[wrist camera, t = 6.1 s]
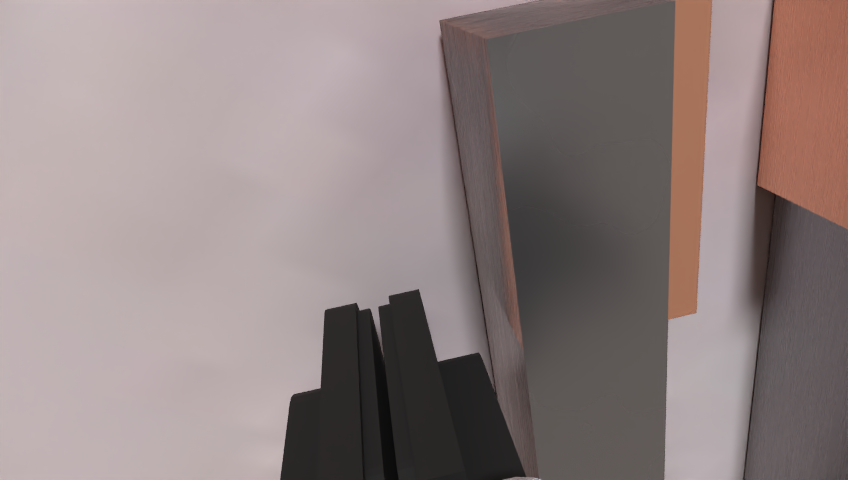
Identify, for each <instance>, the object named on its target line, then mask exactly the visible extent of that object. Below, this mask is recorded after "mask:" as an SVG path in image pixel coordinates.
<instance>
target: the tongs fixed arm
mask: <svg viewBox="0 0 848 480" xmlns="http://www.w3.org/2000/svg"><path fill="white" fill-rule="evenodd" d="M757 185H758V186H760V187H762V188H764V189H766V190H768V191H770V192H773V193H775V194H776V197H775V207H774V216H773V225H772V234H771V243H770V252H769V261H768V270H767V279H766V288H765V297H764V306H763V315H762V324H761V333H760V342H759V351H758V360H757V369H756V378H755V387H754V396H753V405H752V415H751V424H750V433H749V442H748V451H747V460H746V469H745V478H744V480H848V0H775V2H774V13H773V23H772V34H771V45H770V55H769V66H768V77H767V87H766V98H765V109H764V119H763V130H762V141H761V151H760V162H759V173H758V183H757Z"/></svg>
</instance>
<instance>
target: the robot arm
mask: <svg viewBox="0 0 848 480" xmlns="http://www.w3.org/2000/svg"><path fill="white" fill-rule="evenodd" d="M389 302H390V304H388V305H384V306H379V307H378V308H379V317H380V326H381V335H382V343H383V352H384V359H383V355H382V351H381V347H380V343H379V340H378V336H377V332H376V328H375V324H374V320H373V316H372V312H371V310H370V309H365V310H361V311H359V308H358V305H357V303H354V304H350V305H345V306H341V307H336V308H331V309H327V310H325V317H324V336H323V355H322V375H321V388H320V389H316V390H311V391H307V392H302V393H298V394H294V395H293V396H292V397H291V401H290V406H289V414H288V422H287V430H286V438H285V446H284V454H283V462H282V471H281V479H280V480H541V479H538V478H534V477H526V474H525V472H524V469H523V466H522V464H521V461H520V458H519V456H518V453H517V450H516V448H515V445H514V442H513V440H512V437H511V434H510V432H509V429H508V426H507V424H506V421H505V418H504V416H503V413H502V410H501V408H500V405H499V403H498V400H497V397H496V395H495V392H494V389H493V387H492V384H491V381H490V379H489V376H488V373H487V371H486V368H485V365H484V363H483V360H482V358H481V355H480V354H479V353H475V354H470V355H466V356H461V357H457V358H453V359H448V360H444V361H439V362H437V358H436V354H435V351H434V347H433V343H432V339H431V335H430V331H429V327H428V323H427V319H426V315H425V311H424V307H423V303H422V300H421V296H420V292H419V289H418V290H414V291H409V292H404V293H400V294H395V295H391V296H389ZM384 361H385V363H384Z"/></svg>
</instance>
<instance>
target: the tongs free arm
mask: <svg viewBox="0 0 848 480" xmlns="http://www.w3.org/2000/svg"><path fill="white" fill-rule="evenodd" d="M711 14H712V0H538V1H533V2H529V3H524V4H519V5H514V6H509V7H504V8H499V9H494V10H489V11H484V12H479V13H474V14H469V15H464V16H459V17H454V18H449V19H445V20H440V27H441V34H442V40H443V47H444V53H445V60H446V66H447V73H448V79H449V86H450V92H451V99H452V105H453V112H454V118H455V125H456V131H457V138H458V144H459V151H460V157H461V164H462V170H463V177H464V183H465V190H466V196H467V203H468V210H469V216H470V223H471V229H472V236H473V242H474V249H475V255H476V262H477V268H478V275H479V281H480V288H481V294H482V301H483V307H484V314H485V320H486V327H487V333H488V340H489V346H490V353H491V359H492V366H493V372H494V379H495V385H496V392H497V399H498V403H499V405H500V408H501V410H502V413H503V416H504V418H505V421H506V424H507V426H508V429H509V432H510V434H511V437H512V440H513V442H514V445H515V448H516V450H517V453H518V456H519V458H520V461H521V464H522V466H523V469H524V472H525V474H526V477H534V478H538V479H541V480H664V467H665V424H666V381H667V339H668V319H672V318H676V317H681V316H685V315H689V314H694V313H696V310H697V290H698V270H699V251H700V231H701V211H702V191H703V172H704V152H705V132H706V112H707V93H708V73H709V53H710V33H711Z"/></svg>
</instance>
